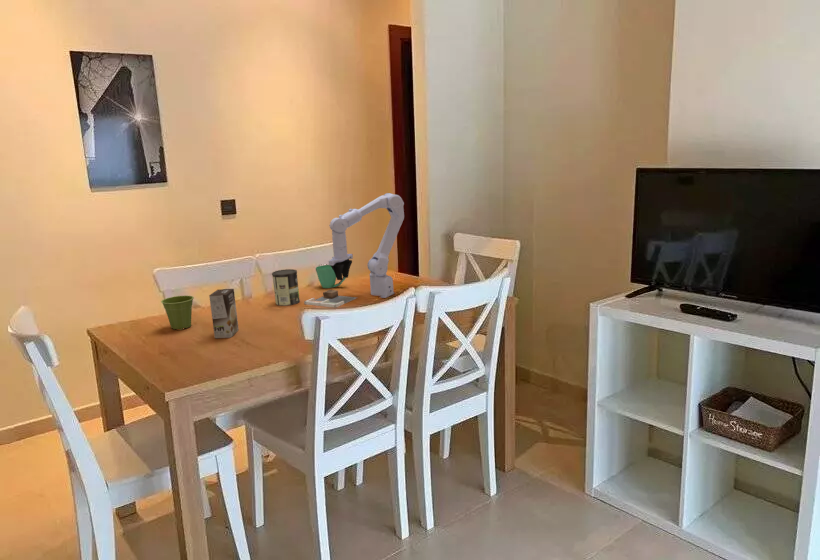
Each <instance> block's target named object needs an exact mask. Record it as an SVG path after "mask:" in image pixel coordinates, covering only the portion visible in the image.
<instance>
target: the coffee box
mask: <svg viewBox="0 0 820 560" xmlns="http://www.w3.org/2000/svg"><path fill="white" fill-rule="evenodd" d="M208 296H209V302H210V303H209V304H210V311H211V318H212V319H211V320H212V326H213V334H214V335H213V336H214V339H230V338H233V336H235V335H236V333H237V332H238V331H239V321H238V312H237V306H236V305H237V304H236V297H235V289H234V288H225V289H223V288H222V289H216V290H215V291H214V292H212V293H211V294H209V295H208Z"/></svg>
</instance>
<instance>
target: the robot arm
mask: <svg viewBox="0 0 820 560" xmlns="http://www.w3.org/2000/svg"><path fill="white" fill-rule="evenodd" d="M404 205H405V202H404V200H403V198H402V197H401V196H400V195H399V194H394V193H390V192H386V193H384V194H383V195H380V196H378V197H377V198H375V199H373V200H371V201H370V202H368V203H367V204H365V205H363V206H362V207H360V208H359V209H357V208H349V209H348V211H347V212H345V213H343V214H339V215H338V217H334V218H332V219H331V221H330V222H329V228H330V230H331V239H332V250H333V256H332V257H331V259H329V260H328V265H330V266H331V267H332V269H333V270H334V273H335V275H336V281H341V280H342V278H346V279H347V278H349V274H350V273H349V272H350V269H351V266H352V263H353V260H352V259H353V258H354V257H353V253H348V244H347V243H348V242H347V234H346V231H347V229H349V228H350V227H352V226H354V225H355V224H357V223H359V222H361V221H362V218H363V216H366V215H368V214H370V213H371V212H374V211H376V210H378V209H386V210H387V211H388V214H389V215H390V219H389V221H388V224H387V225H386V228H385V231H384V234H383V236H382V238H381V241H380V243H379V246H378V248H377V251H376V252H374V253H373V255H372V256H371V258H370V259H369V260H368V262H367V269H368V271H369V272H370V273H369V283H370V295H371V296H378V297H379V298H383V299H384V298H385V299H386V298H388V297H390V296H392V295H394V294H395V292H394V278H393V277H392V276H390V275H388V274H387V272H388V269H389V268H388V265H389V261H390V260H389V255H390V252H392V248H393V246H394V243H395V241H396V239H397V237H398V234H399V231H400V228H401V226H402V224H403V221H404V220H405V212H404V211H405V209H404Z"/></svg>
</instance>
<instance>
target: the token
mask: <svg viewBox="0 0 820 560" xmlns="http://www.w3.org/2000/svg"><path fill="white" fill-rule="evenodd" d="M338 296H339V290H338V289H337V290H335V289H328V290H326V291H323V292H322V297H323V298H328V299H333V298H335V297H338Z"/></svg>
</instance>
